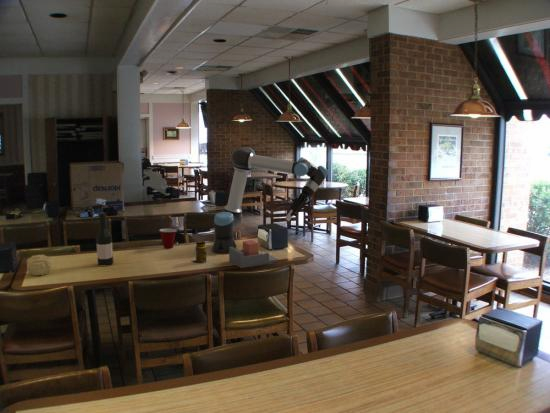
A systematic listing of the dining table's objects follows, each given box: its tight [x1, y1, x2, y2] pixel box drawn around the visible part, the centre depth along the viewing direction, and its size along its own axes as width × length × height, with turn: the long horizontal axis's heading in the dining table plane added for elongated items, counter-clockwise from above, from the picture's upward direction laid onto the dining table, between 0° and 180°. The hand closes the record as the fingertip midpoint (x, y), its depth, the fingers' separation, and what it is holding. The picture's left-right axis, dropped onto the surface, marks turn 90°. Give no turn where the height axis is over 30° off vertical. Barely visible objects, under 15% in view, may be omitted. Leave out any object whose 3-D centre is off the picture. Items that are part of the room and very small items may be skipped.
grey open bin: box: [228, 247, 279, 269], centre depth 279 cm, size 15×24×8 cm, turn 121°
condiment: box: [190, 240, 210, 265], centre depth 278 cm, size 7×8×12 cm
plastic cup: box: [159, 228, 177, 250], centre depth 307 cm, size 11×11×12 cm
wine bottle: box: [95, 211, 114, 266], centre depth 272 cm, size 8×8×30 cm
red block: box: [242, 239, 260, 256], centre depth 277 cm, size 8×7×10 cm
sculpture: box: [26, 254, 52, 276], centre depth 257 cm, size 12×12×11 cm
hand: (286, 219), depth 288 cm, fingers closed
